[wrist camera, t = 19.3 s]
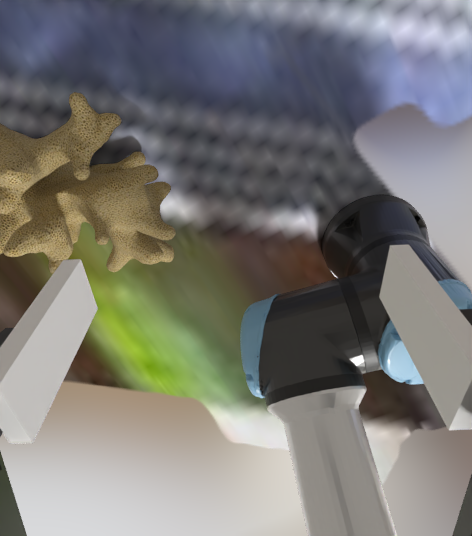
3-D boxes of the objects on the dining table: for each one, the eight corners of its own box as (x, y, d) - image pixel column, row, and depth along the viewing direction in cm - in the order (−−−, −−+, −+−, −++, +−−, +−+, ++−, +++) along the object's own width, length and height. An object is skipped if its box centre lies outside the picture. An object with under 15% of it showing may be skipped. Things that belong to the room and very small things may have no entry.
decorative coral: (-157, 69, 34) (-30, 180, 23) (60, 26, 45) (207, 87, 35) (-26, 262, 52) (76, 370, 42) (103, 196, 64) (207, 268, 54)
